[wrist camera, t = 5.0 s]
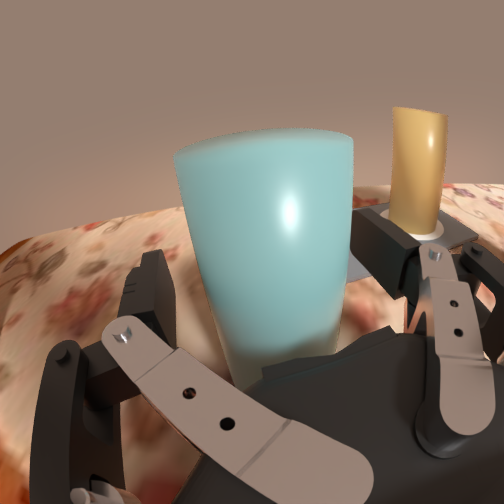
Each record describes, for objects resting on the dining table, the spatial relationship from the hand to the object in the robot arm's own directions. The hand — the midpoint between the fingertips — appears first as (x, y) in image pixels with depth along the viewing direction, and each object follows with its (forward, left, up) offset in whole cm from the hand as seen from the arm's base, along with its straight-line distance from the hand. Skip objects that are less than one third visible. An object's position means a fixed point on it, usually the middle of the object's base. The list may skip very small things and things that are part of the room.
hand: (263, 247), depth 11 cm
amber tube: (+17, +9, -7) cm, 20 cm away
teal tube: (0, -1, -7) cm, 7 cm away
